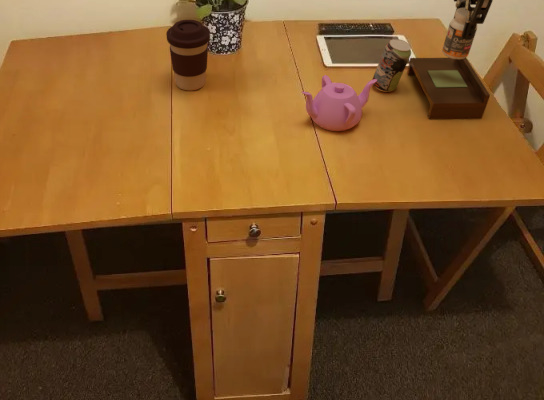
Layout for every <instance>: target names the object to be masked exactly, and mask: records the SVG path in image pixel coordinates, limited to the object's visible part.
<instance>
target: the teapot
mask: <svg viewBox="0 0 544 400" xmlns="http://www.w3.org/2000/svg"><path fill="white" fill-rule="evenodd" d="M372 79H373V78H372ZM372 79H371V80H369V81H367V83H366V84H365V85H364V87H363V89H362V91H361V92H360V93H359V94H357V92H356V91H355V89H354V88H353V86H350V85H349V84H347V83H343V82H332V80H331V78H330V77H329V76H328V75H327V74H324V75H322V77H321V89H320V90H319V91H318V92H317V93H316V94H315V96H314V97H313V95H312V93H311V92H308V91H301V93H302V94H303V95H304V96H305V97H306V101H305V110H306V113H307V115H308V116H309V117H311V119H312V121H313V123H315V124H316V125H317V126H318V127H320V128H322V129H324V130H327V131H332V132H344V131H348V130H350V129H352V128H353V127H355V126H357V125H358V123H359V122H360V121H361V119H362V115H363V110H362V109H363V108H364V107H365V106H366V105H367V103H368V101H369V97H370V92H371V89H372V87H373V86H374V85H373V84H374V83H375V82H376V81H377V79H373V80H372Z"/></svg>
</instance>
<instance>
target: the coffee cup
mask: <svg viewBox="0 0 544 400" xmlns="http://www.w3.org/2000/svg"><path fill="white" fill-rule="evenodd" d="M165 35H166V41H167V43H168V44H169V54H170V60H171V66H172V67H171V68H172V71H173V75H174V83H175V85H176V87H177V88H179V89H181V90H184V91H196V90H199V89H201V88H203V87H204V86H205V84H206V78H207V76H206V75H207V69H208V56H209V55H208V54H209V53H208V52H209V45H208V43H209V42H210V40H211V32H210V29H209V28H208V27H207V26H205V25H203V24H202V22H201V21H199V20H195V19H181V20H178V21H177V22H175V23H174V24H173V26H171V27H170V28H168V30H166V34H165Z"/></svg>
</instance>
